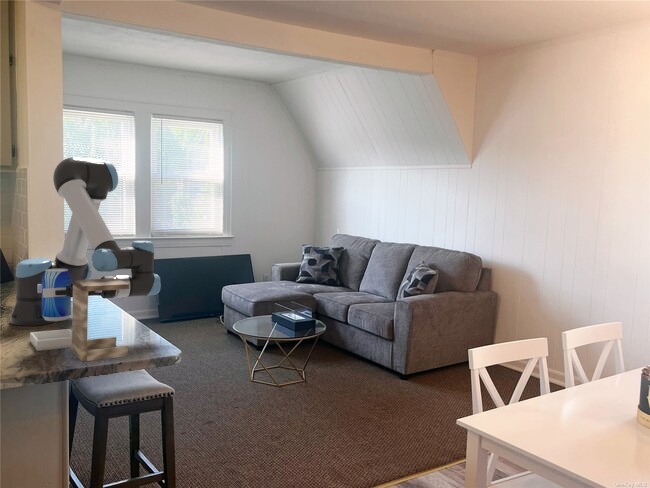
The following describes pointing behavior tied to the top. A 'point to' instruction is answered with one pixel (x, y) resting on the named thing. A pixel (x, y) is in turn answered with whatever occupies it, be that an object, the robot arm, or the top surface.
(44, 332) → the tray
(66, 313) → the beer can
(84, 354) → the dock
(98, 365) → the top surface
